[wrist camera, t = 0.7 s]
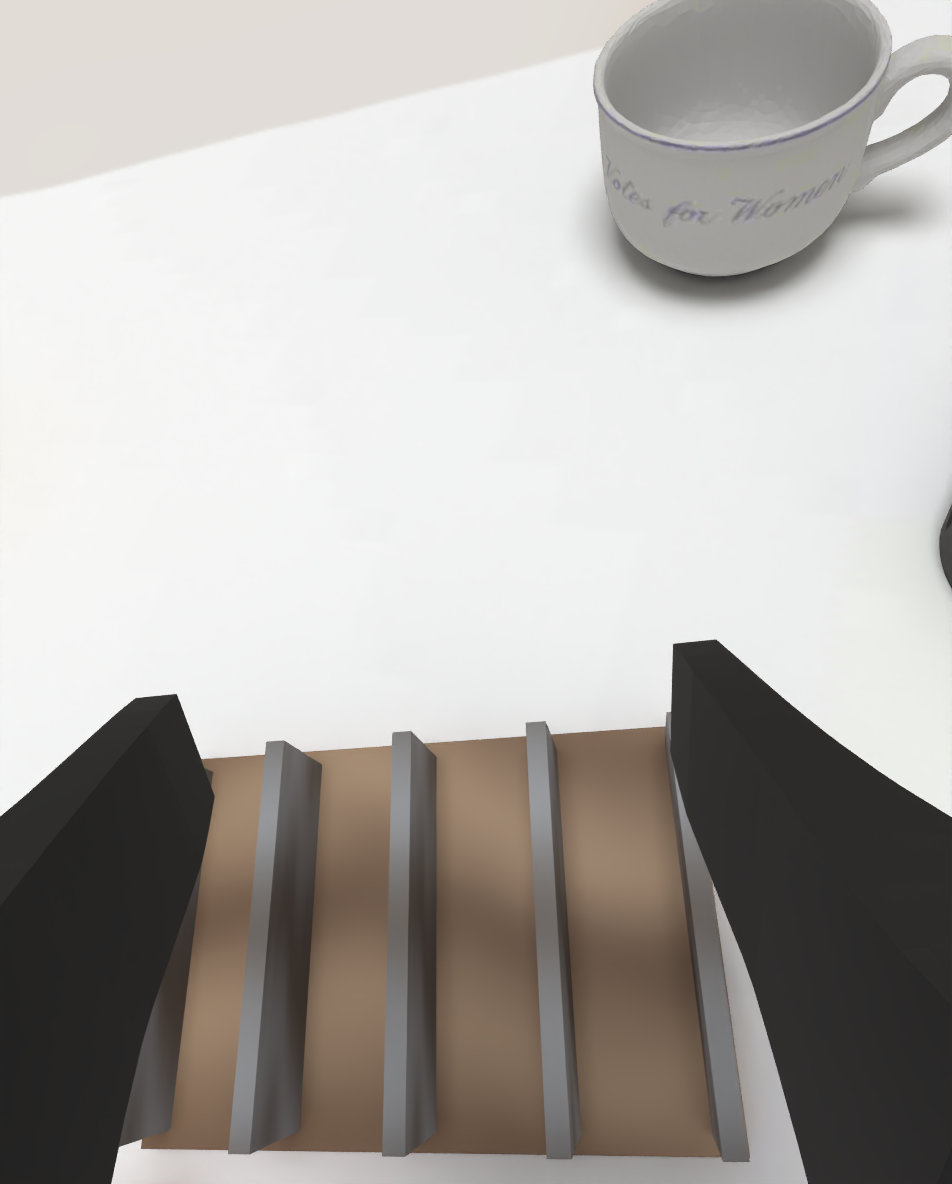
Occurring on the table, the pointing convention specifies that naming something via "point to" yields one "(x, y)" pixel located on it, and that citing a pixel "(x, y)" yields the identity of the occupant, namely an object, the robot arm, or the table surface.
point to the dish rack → (447, 958)
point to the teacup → (751, 123)
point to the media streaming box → (947, 546)
